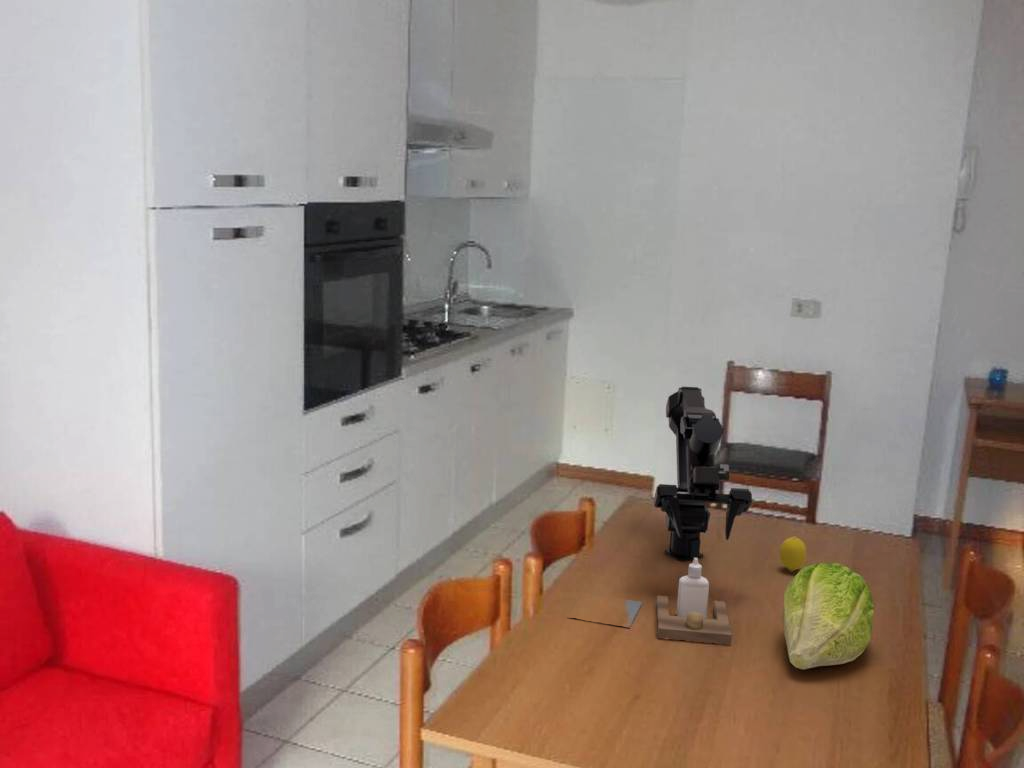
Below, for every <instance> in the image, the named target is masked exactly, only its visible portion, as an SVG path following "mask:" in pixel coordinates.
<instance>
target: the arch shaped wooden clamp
mask: <svg viewBox="0 0 1024 768" xmlns="http://www.w3.org/2000/svg"><path fill="white" fill-rule="evenodd" d="M656 597H657V599H656V614H657V615H656V619H657V620H658V623H657V638H669V639H676V640H675V641H679V640H685V641H684V642H690V641H693V642H692V643H701V642H704V643H705V644H712V643H715V644H716V645H723V644H725V645H727V646H731V645H732V644H731V643H732V636H733V635H732V630H731V626H730V621H729V616H728V610H727V606H726V601H724V600H716V599H715V600H714V601H713V609H712V610H713V616H714V618H713V619H711V618H706V619H703V615H702V614H700V613H697V612H689V613H687V617H680V616H677V615H670V611H669V610H670V609H669V598H668V597H669V596H667V595H666V596H665V595H657V596H656ZM704 643H703V644H704ZM715 644H714V645H715ZM725 645H724V646H725Z"/></svg>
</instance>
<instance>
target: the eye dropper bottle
mask: <svg viewBox="0 0 1024 768" xmlns="http://www.w3.org/2000/svg"><path fill="white" fill-rule="evenodd" d="M702 568H703V566H702V565H701V564H700V563H699V558H694V559H692V563H689V564H688V570H687V575H683V576H681V577H679V580H678V590H677V599H676V601H677V605H676V616H680V617H687V613H689V612H697V613H700V614H702V615H703V619H708V618H707V616H708V607H709V605H708V603H709V595H710V594H709V593H710V591H709V589H710V584H709V583H710V582H709V581H708V579H707V578H706V577H704V576H702V570H703V569H702Z"/></svg>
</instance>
